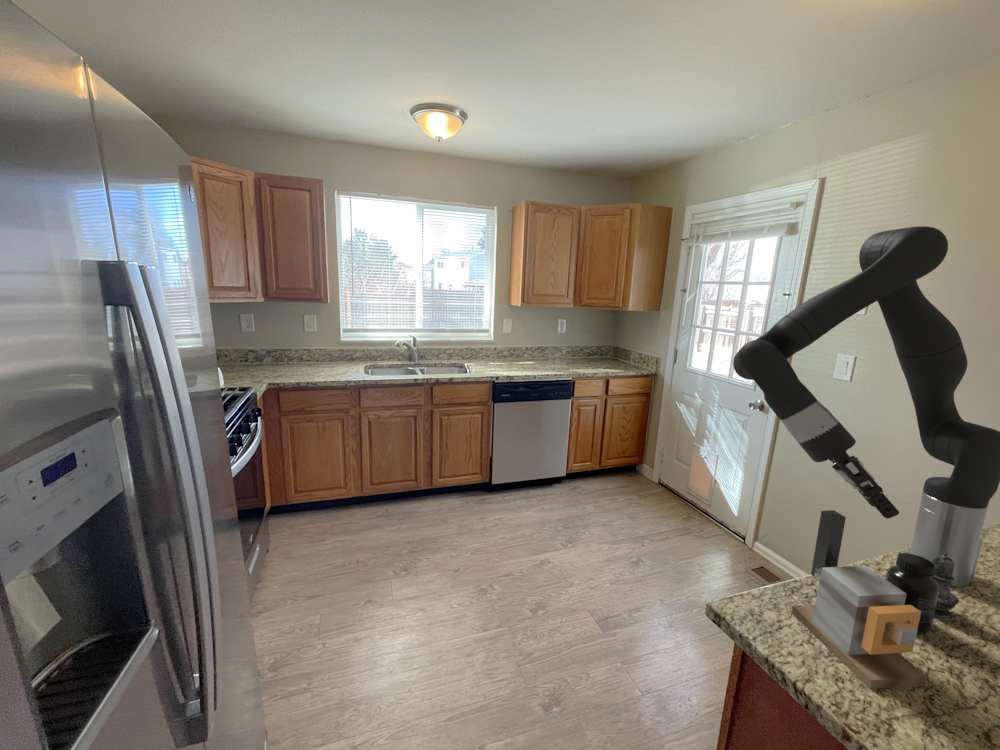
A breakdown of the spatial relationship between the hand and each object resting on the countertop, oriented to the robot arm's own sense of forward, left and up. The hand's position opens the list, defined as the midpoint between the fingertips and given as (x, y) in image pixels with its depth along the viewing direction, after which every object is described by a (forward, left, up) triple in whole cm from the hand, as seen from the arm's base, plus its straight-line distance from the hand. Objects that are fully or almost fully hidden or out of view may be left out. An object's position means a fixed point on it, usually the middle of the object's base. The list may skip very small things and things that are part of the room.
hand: (885, 509), depth 73 cm
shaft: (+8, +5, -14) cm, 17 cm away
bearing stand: (+8, +6, -21) cm, 24 cm away
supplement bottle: (-7, +1, -22) cm, 23 cm away
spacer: (+8, +11, -17) cm, 22 cm away
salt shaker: (-15, -1, -22) cm, 26 cm away
